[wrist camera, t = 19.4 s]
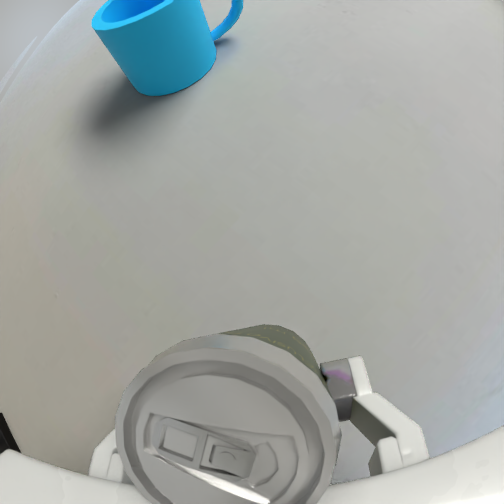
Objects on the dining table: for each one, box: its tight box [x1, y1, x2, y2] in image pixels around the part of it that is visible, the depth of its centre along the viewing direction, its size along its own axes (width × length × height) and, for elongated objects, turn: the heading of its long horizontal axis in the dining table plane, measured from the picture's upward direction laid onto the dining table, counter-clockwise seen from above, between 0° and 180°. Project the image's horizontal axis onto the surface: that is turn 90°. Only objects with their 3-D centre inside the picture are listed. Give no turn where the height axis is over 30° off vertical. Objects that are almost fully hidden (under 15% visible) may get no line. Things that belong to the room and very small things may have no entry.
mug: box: [92, 0, 243, 96], centre depth 19 cm, size 12×8×8 cm
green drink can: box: [115, 324, 342, 504], centre depth 11 cm, size 5×5×12 cm
